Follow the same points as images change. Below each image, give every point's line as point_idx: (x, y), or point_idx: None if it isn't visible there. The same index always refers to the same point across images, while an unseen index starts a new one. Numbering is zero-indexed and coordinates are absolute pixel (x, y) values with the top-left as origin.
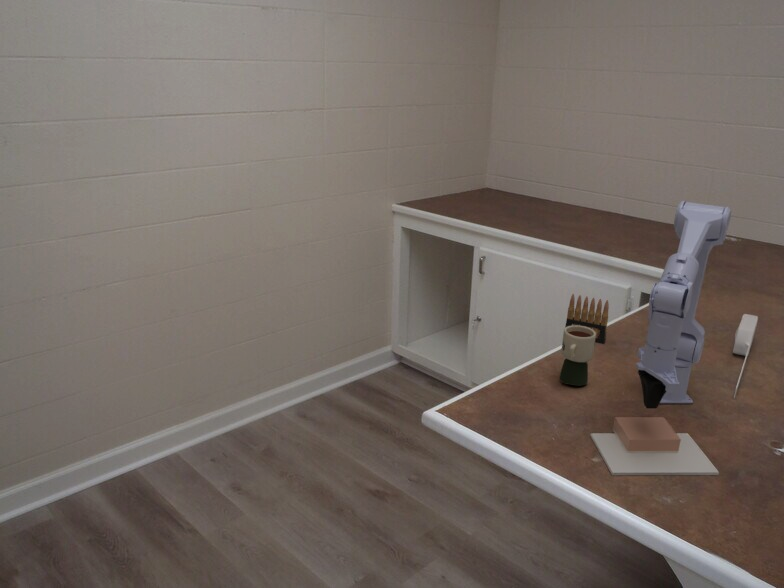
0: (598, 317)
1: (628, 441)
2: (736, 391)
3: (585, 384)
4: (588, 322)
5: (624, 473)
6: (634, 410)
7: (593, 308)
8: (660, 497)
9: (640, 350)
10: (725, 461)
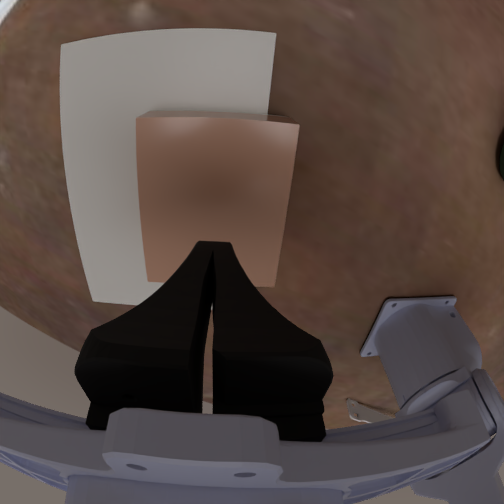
0: None
1: (144, 116)
2: (354, 408)
3: (500, 170)
4: None
5: (61, 77)
6: (381, 235)
7: None
8: (3, 146)
9: (467, 451)
10: None
